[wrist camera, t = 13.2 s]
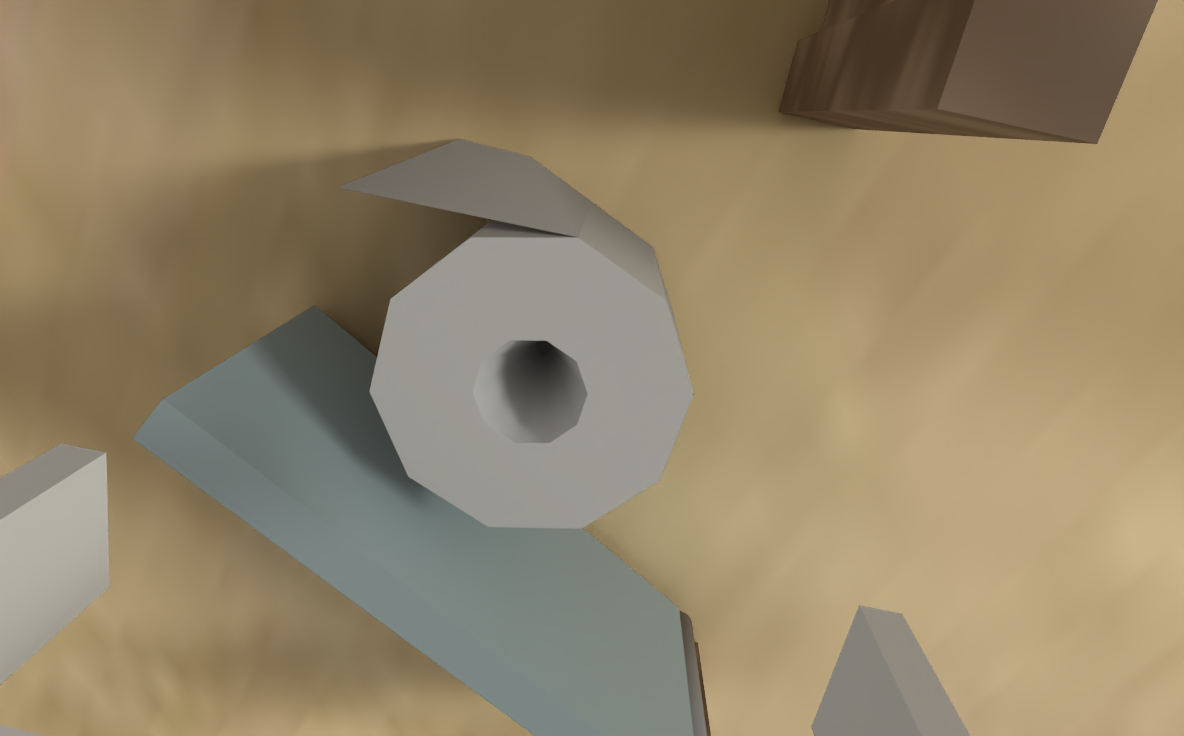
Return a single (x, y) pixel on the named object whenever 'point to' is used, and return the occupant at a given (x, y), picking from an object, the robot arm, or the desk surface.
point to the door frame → (966, 71)
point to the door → (428, 544)
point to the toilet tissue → (527, 347)
